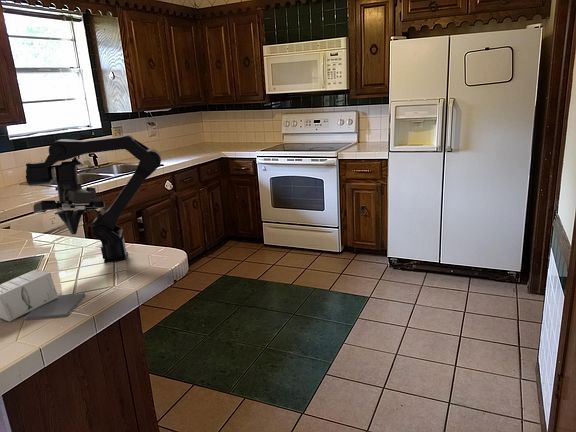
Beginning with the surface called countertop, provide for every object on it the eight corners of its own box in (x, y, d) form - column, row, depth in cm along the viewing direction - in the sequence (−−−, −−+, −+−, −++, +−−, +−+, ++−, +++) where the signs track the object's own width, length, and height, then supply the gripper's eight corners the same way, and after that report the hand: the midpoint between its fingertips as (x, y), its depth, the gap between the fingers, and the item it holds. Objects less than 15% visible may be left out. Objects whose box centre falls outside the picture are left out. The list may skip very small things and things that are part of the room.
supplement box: (60, 297, 114) (9, 323, 104) (45, 292, 118) (-5, 316, 108) (51, 271, 111) (-2, 295, 102) (36, 267, 115) (-16, 290, 106)
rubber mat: (47, 298, 116) (46, 296, 116) (85, 295, 116) (85, 293, 116) (25, 319, 105) (24, 317, 105) (67, 316, 105) (66, 313, 105)
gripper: (47, 177, 118) (54, 234, 118) (111, 177, 133) (117, 228, 133) (29, 184, 125) (36, 238, 125) (92, 184, 140) (98, 232, 140)
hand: (74, 234), depth 130 cm, fingers closed
